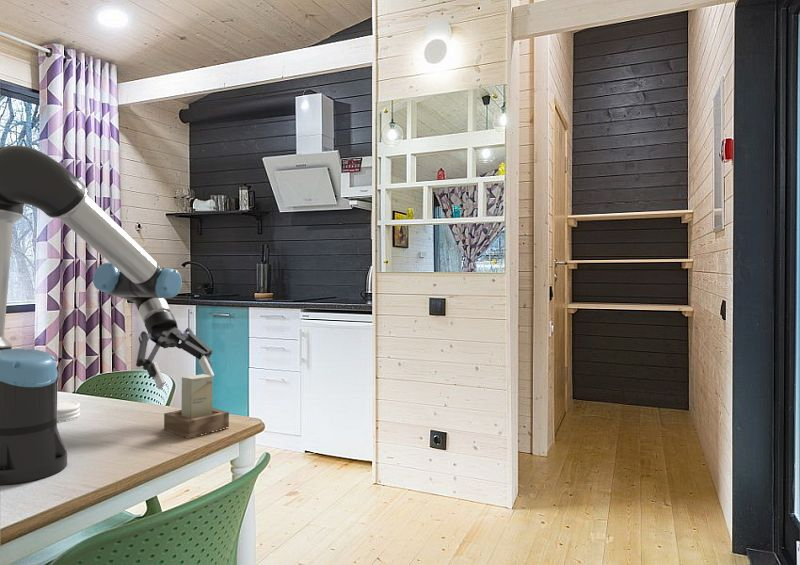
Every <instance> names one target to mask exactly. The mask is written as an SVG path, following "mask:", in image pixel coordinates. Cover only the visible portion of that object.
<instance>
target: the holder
mask: <svg viewBox="0 0 800 565" xmlns="http://www.w3.org/2000/svg"><path fill="white" fill-rule="evenodd" d="M181 413H182V409H179V410H174V411H170V412H165V413H164V414H163V415H164V416H163V420H164V421H163V424H164V425H163V430H165V431H168V432H171V433H172V434H173V433H174V434H175V433H176V434H175V435H178V434H179V436H181V435H182V436H181V437H184V436H185V437H184V438H186V437H188V438H187V439H191V438H190V437H192V438H195V437H194V436H196V437H199V436H198V435H200V436H202V435H201V434H204V435H206V434H205V433H208V434H210V433H209V432H212V431H216V430H220V429H223V428H226V427H229V428H230V426H229V425H230V421H229V420H230V418H229V417H230V413H229V412H228V411H225V410H222V409H217V408H214V407H212V415H207V416H203V417H198V418H194V419H189V418H186V417H183V416H181ZM220 431H221V430H220ZM216 432H217V431H216ZM212 433H213V432H212Z"/></svg>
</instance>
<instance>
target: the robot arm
mask: <svg viewBox="0 0 800 565" xmlns="http://www.w3.org/2000/svg"><path fill="white" fill-rule="evenodd" d="M24 205H29V206H33V207H35V209H38V210H41V212H43V214H45V215H46V216H47V217H49V218H52V219H58V220H60V221H61V222H62V223H63V224H64V225H66V226H67V227H68V228H69V229H71V230H72V231H73V232H74V233H75V234H77V235H78V236H79V237H80V238H81V239H82V240H83V241H84V242H85V243H86V244H88V245H89V246H90V247H91V248H93V249H94V250H95V251H96V252H97V253H98V254H99V255H100V256H102V257H103V258H104V259H105V260H106V261H108V262H104V263H101V264H100V265H99V266H98V267H96V269H95V270H94V273H93V276H92V283H93V286H94V288H95V289H97V290H98V291H100V292H103V293H104V294H105V295H106V294H108V295H111V296H114V297H118V298H120V299H123V300H126V301H129V302H132V303H134V304H135V307H136V309H137V311H138V313H139V315H140V318H141V320H142V322H143V324H144V327H145V329H146V331H142V332H141V333H140V334H139V337H138V341H139V347H138V352H137V357H136V364H135V365H136V367H138V368H140V367H142V369H143V370H145V371H146V372H147V374H148V376H149V377H150V378H153V380H154V382H155V385H156V388H157V389H158V390H162V388H163V387H164V386H165V384H166V381H165V378H164V377H163V375H162V371H161V369H160V367H159V365H158V362H157V361H153V360H154V359H155V357H156V355H157V353H158V352H159V349H160V347H161V348H163V349H168V348H177V349H179V350H180V349H181V350H183V351H185V352H187V353H188V354H189V355H191V356H193V357H194V358H196V359H198V364H199V366H200V368H201V370H202V372H203V374H205V375H210V376H213V377H212V379H214V376H215V373H214V371H213V369H212V367H213V364H212V362H211V360H210V357H212V356H211V355H212V354H213V353H214V351H213V350H212V349H211V348H210V347H209V346H208V345H207V344H206V343H205V342H204V341H203V340H201V339H200V338H199V337H198V336H196V335H195V333H193V331H192V329H191V328H190V327H187V328H186V329H183V330H181V329H179V328H178V322H177V321H176V319H175V316H174V314H173V313H172V312H173V311H172V309H171V307H170V306H169V304H168V302H167V299H171V298H175V297H176V296H177V295H178V294H180V291H181V289H182V288H183V287H182V285H183V278H182V275H181V274H180V272H179V271H178V270H177V269H174V268H170V267H163V266H162V265H161V264H159V263H158V262H157V261H156V260H155V259H154V258H153V257H152V256H151V255H150V254H149V253H148V252H147V251H146V250H145V249H144V248H143V247H142V246H141V245H140V244H139V243H138V242H137V241H136V240H135V239H133V238H132V236H130V235H129V234H128V232H126V230H124V229H123V228H122V227H121V226H120V225H119V224H118V223H117V221H115V220H114V219H113V218H112V217H111V216H110V215H109V214H108V213H107V212H106V211H104V209H102V207H100V206H99V204H97V203H96V201H94V200H93V199H92V198H91V197H90V196H89V195H88V189H87V186H86V185H85V184H84V183H83V182H82V181H81V180H80V179H79V178H77V176H75V174H73V173H72V172H71V171H70V170H69V169H67V168H66V167H64V166H63V165H62V164H61V163H60V162H58V161H57V160H56V159H53V157H50V156H49V155H48V154H46V153H44V152H42V151H40V150H38V149H36V148H32V147H28V146H24V145H7V146H0V485H11V484H13V485H14V484H20V483H26V482H33V481H36V480H40V479H43V478H46V477H49V476H52V475H55V474H57V473H58V472H61V471H62V470H63V469H65V468H66V467H67V465H68V452H67V450H66V447H65V446H66V445H65V444H64V442H63V440H62V437H61V434H60V431H59V429H58V422H57V402H58V376H59V373H58V369H57V366H58V365H57V360H56V358H55V356H54V355H52V354H51V353H50V352H49V353H48V351H43V350H41V349H40V350H39V349H31V348H29V349H24V348H12V347H13V345H12V343H11V342H10V341H8V339H7V338H6V337H5V329H6V328H5V327H6V326H5V325H6V316H7V314H6V313H7V303H8V291H9V279H10V268H11V256H12V245H13V244H12V242H13V234H14V232H13V231H14V230H13V229H14V225H15V223H16V222H17V221H20V220H21V219H22V218H24V217H23V216H24ZM149 341H152V342H153V343H154V344H155V345H154V347H153V348H152V350H151V352H150V354H149V355H148V357H147V358H146V355H147V354H146V352H147V348H148V342H149Z"/></svg>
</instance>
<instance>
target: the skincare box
mask: <svg viewBox="0 0 800 565" xmlns="http://www.w3.org/2000/svg"><path fill="white" fill-rule="evenodd" d="M212 377H213V376H210V375H205V374H204V373H200V374H195V375H188V376H182V377H181V410H182V413H181V416H183V417H186V418H189V419H194V418H198V417H203V416H207V415H212V408H213V378H214V377H213V378H212Z"/></svg>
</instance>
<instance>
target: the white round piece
mask: <svg viewBox="0 0 800 565" xmlns="http://www.w3.org/2000/svg"><path fill="white" fill-rule="evenodd" d="M80 407H81V403H79V402H77V401H71V400H70V401H57V423H60V422H59V421H64V422H67V421H66V420H69V421H71V420H70V419H73V420H75V419H74V418H76V417H78V416H79V417H80V416H81V408H80ZM79 417H78V418H79ZM76 419H77V418H76Z"/></svg>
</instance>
